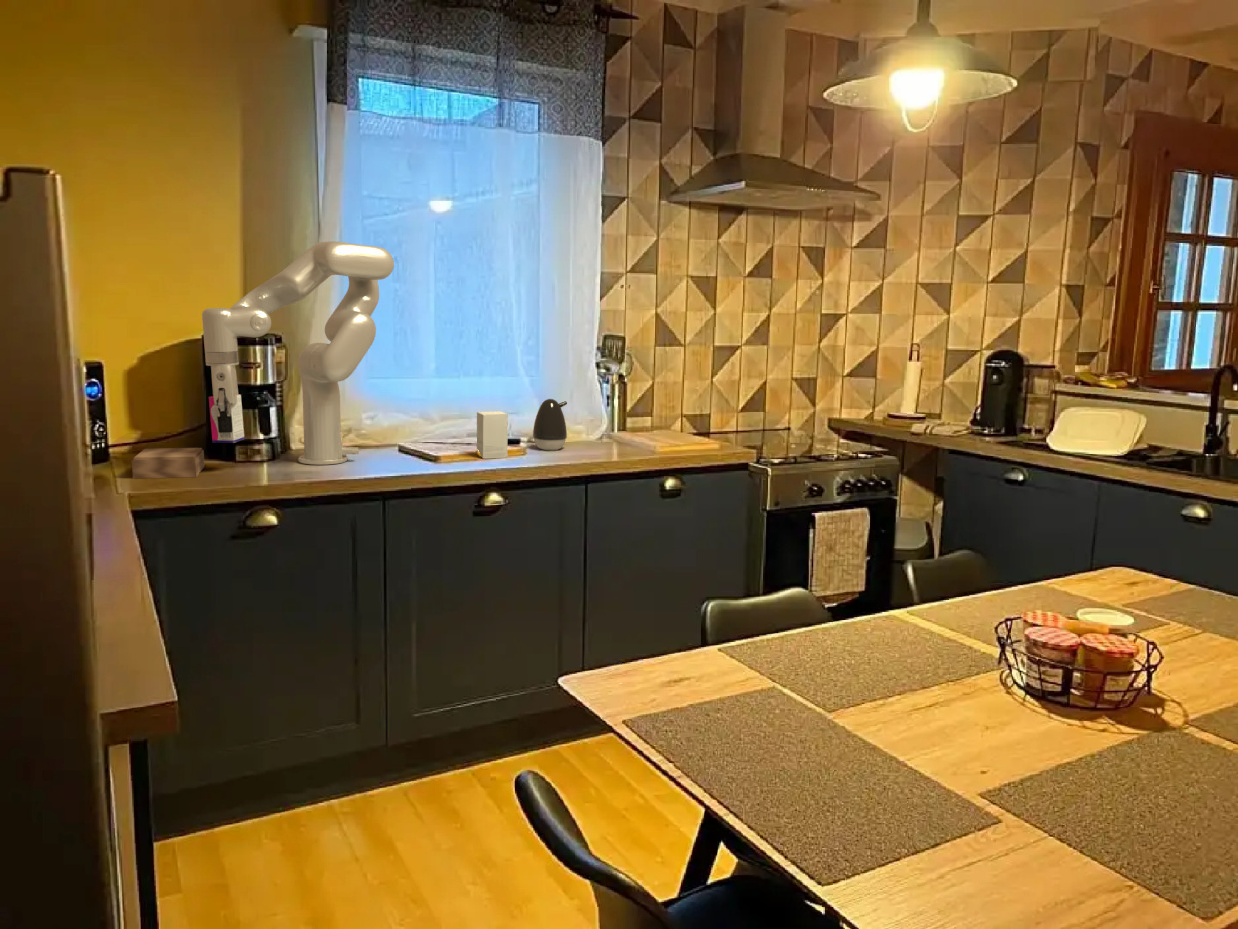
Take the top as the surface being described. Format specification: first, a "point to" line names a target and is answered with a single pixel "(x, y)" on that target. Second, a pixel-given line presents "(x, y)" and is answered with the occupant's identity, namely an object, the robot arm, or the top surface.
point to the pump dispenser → (550, 426)
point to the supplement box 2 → (492, 434)
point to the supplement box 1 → (236, 422)
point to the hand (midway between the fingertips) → (227, 429)
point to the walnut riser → (168, 463)
